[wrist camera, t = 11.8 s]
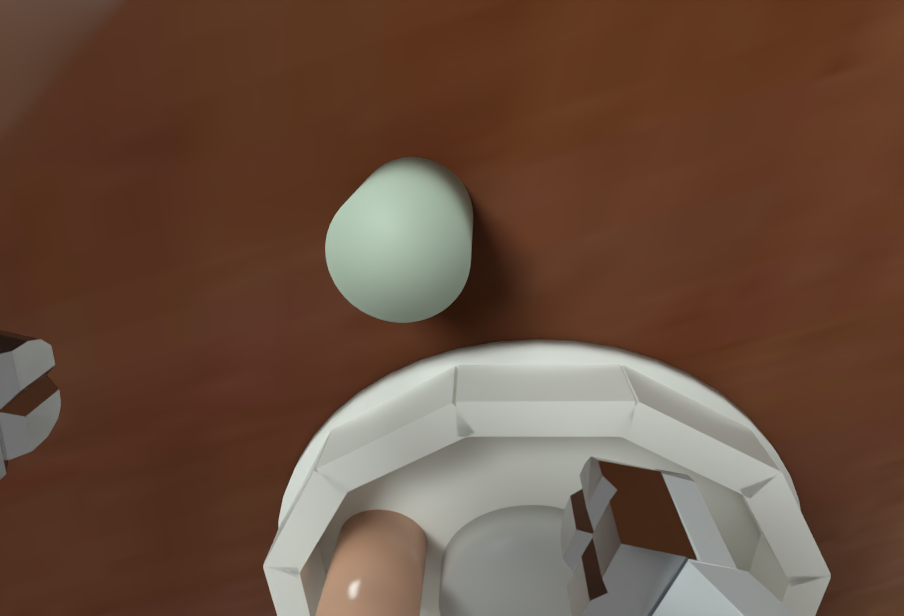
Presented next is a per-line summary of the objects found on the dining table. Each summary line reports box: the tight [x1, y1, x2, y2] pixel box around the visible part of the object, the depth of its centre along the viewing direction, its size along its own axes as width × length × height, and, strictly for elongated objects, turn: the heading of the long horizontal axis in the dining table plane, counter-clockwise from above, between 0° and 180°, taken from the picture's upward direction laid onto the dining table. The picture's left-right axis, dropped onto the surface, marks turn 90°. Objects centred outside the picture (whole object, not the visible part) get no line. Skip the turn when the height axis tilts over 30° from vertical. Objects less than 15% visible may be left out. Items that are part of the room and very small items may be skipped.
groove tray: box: [263, 339, 831, 616], centre depth 26 cm, size 26×26×4 cm
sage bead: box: [325, 157, 473, 323], centre depth 18 cm, size 4×4×4 cm
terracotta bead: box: [315, 509, 427, 616], centre depth 24 cm, size 4×4×4 cm
